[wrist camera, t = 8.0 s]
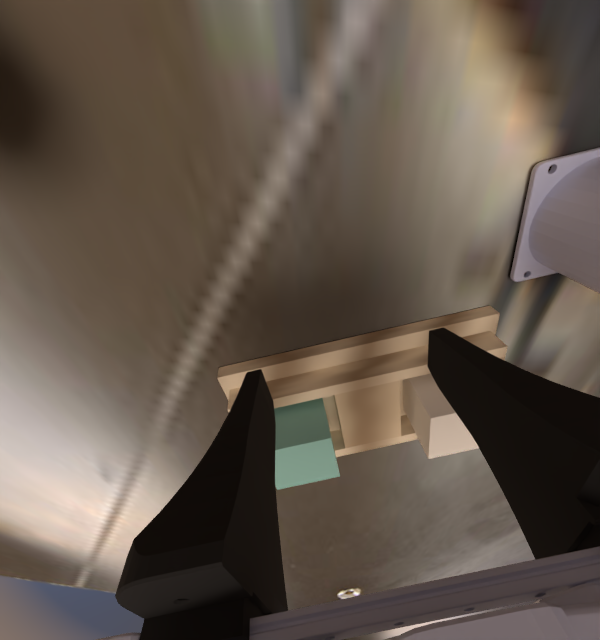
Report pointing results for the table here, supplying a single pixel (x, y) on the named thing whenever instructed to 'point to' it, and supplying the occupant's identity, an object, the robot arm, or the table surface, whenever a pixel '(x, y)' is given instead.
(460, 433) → the cream block
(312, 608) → the robot arm
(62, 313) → the table surface
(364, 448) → the assembly board
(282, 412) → the teal block
